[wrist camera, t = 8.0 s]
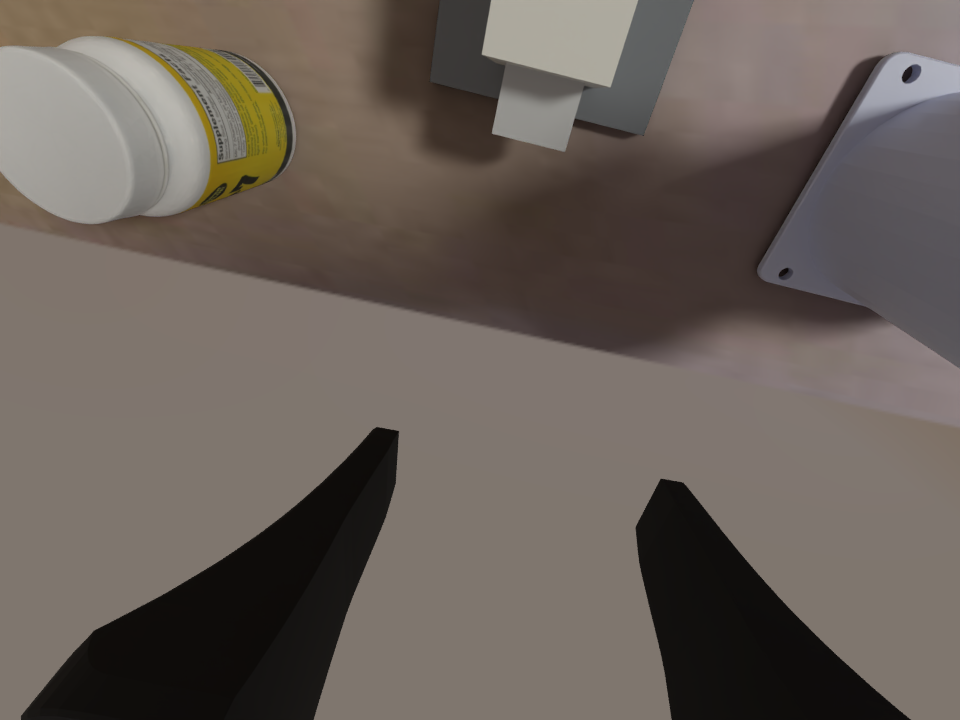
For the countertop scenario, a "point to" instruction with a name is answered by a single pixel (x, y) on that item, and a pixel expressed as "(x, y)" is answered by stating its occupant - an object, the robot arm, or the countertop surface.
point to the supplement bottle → (137, 127)
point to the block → (552, 61)
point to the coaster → (614, 106)
